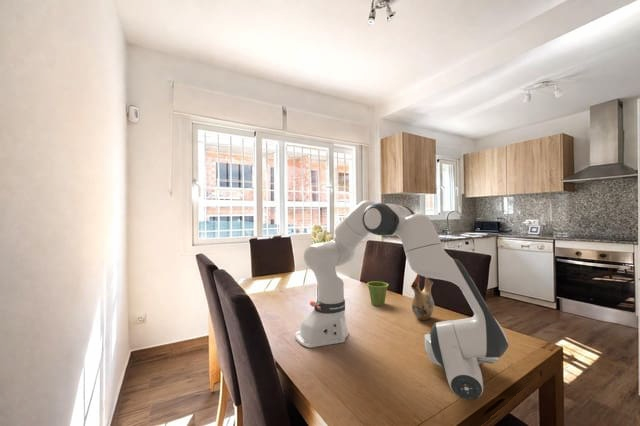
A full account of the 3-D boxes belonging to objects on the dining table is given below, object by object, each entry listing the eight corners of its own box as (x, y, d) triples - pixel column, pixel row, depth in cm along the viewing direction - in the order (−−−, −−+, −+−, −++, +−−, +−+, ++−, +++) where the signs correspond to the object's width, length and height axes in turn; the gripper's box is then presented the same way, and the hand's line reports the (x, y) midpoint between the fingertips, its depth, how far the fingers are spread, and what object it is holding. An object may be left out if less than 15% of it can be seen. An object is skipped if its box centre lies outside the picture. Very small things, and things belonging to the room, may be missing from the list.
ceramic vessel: (422, 326, 116) (421, 270, 117) (404, 320, 124) (403, 267, 124) (441, 317, 126) (440, 265, 127) (424, 312, 134) (423, 263, 134)
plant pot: (391, 307, 141) (391, 286, 141) (369, 307, 141) (368, 286, 141) (386, 300, 152) (385, 281, 153) (365, 300, 153) (365, 281, 153)
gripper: (500, 352, 76) (489, 332, 88) (423, 340, 83) (424, 323, 96) (500, 374, 75) (490, 351, 88) (424, 360, 83) (425, 340, 96)
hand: (455, 336), depth 92 cm, fingers open, 7 cm apart
